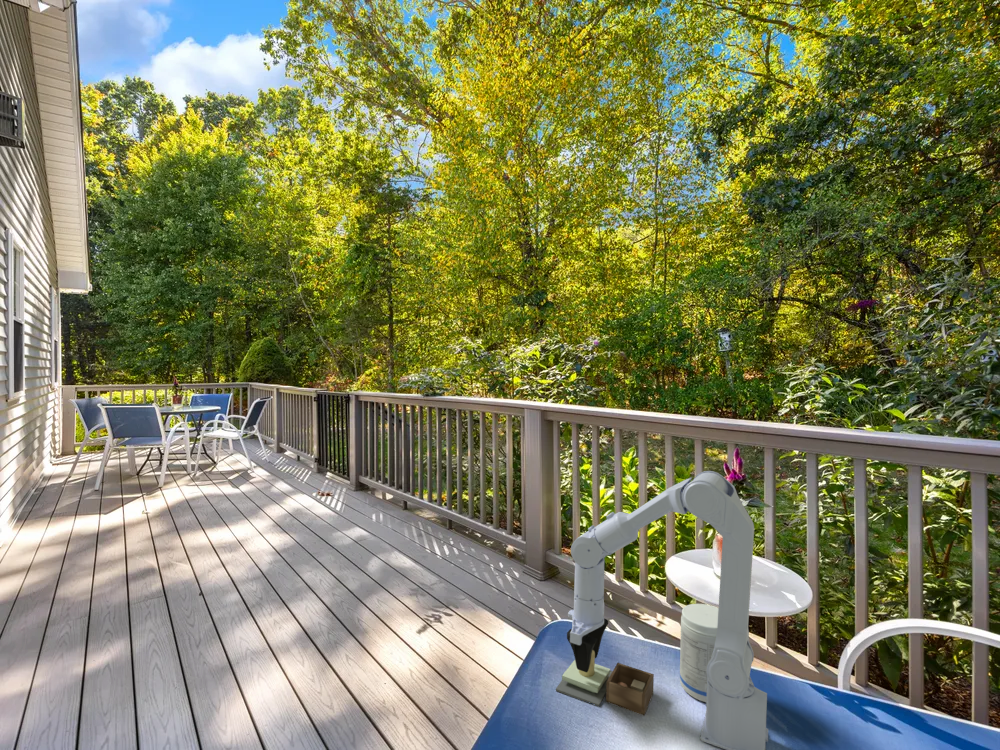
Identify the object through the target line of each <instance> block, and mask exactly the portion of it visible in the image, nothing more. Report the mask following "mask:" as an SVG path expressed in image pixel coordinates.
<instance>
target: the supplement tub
mask: <svg viewBox="0 0 1000 750" xmlns="http://www.w3.org/2000/svg"><path fill="white" fill-rule="evenodd" d="M718 609H719V607H717V606H714V605H712V604H706V603H691V604H687V605H685V606H684V607H683V608H682V610H681V616H680V645H679V646H680V649H679V651H680V652H679V656H680V657H679V660H680V661H679V682H680V683H679V684H680V685H681V687H682V688H683V690H684V691H685V693H687V694H688V695H690V696H691V697H692V698H694V699H696V700H697V701H698V700H699V701H701V702H704V703H706V702H707V665H708V663H709V661H710V659H711V656H712V653H713V650H714V645H715V640H716V634H717V625H718Z"/></svg>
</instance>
